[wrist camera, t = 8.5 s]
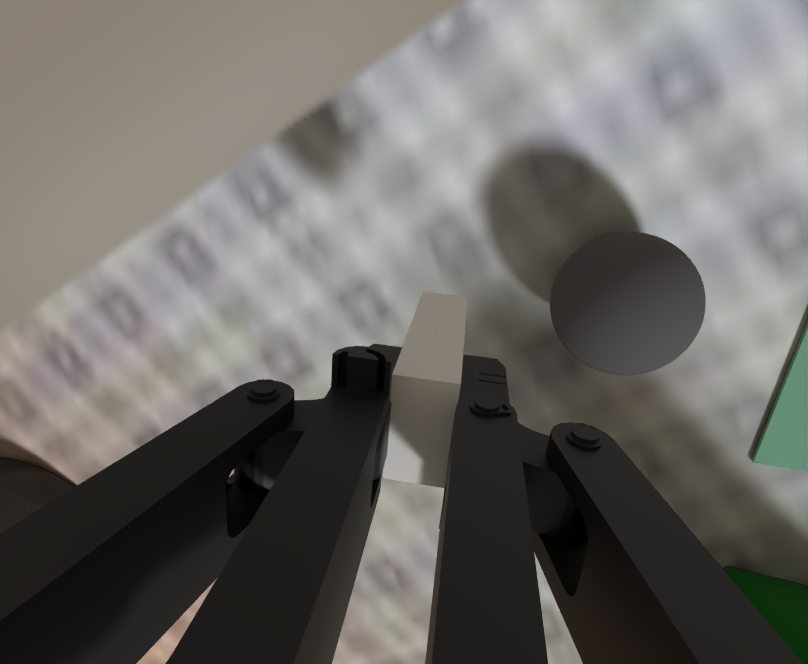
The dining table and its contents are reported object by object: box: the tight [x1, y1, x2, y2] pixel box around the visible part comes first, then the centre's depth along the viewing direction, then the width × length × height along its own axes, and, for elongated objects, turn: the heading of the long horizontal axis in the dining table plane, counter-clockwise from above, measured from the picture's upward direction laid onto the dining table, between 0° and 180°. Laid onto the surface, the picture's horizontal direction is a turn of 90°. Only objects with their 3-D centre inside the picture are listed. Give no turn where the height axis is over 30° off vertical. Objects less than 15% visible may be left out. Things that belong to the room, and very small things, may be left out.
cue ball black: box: [550, 232, 705, 375], centre depth 20 cm, size 6×6×6 cm
